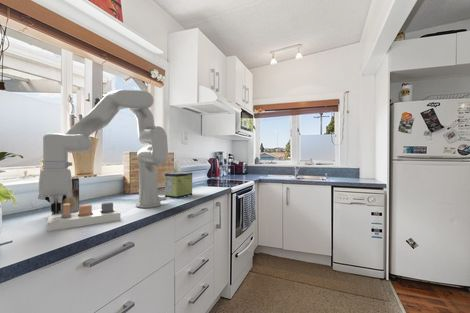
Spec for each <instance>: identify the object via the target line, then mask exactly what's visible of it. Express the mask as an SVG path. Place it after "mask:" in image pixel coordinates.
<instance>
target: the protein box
mask: <svg viewBox="0 0 470 313" xmlns="http://www.w3.org/2000/svg"><path fill="white" fill-rule="evenodd" d="M188 195H191V196H193V172H188V171H187V172H185V171H178V172H167V173H165V174H164V197H166V198H167V197H170V198H169V199H175V198H177V199H180V198H179V197H182V198H185V197H184V196H186V197H189V196H188Z"/></svg>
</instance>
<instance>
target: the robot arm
mask: <svg viewBox="0 0 470 313" xmlns="http://www.w3.org/2000/svg"><path fill="white" fill-rule="evenodd" d="M154 100H155V99H154V97H153V95H152V93H151V92H149V91H147V90H142V89H139V90H137V89H118V90H114V91H109V92H108V93H106V94H105V95H104V96H103V97H102V98H101V99H100V101H98V103H97V104H96V105H95V106H94V107H92V109H91V110H90V111H89V112H88V113H87V114H85V116H83V117H82V118H81V119H80V120H78V121H77V122H76V123H75V124H73V125H72V127H70V128H69V130H68V131H67V132H66V133H53V132H52V133H45V134H44V135H43V137H42V152H43V154H42V158H43V159H42V164H43V169H40V172H39V178H38V195H37V199H38V200H42V201H47V202H48V203H49V204H50V212H51V213H52V212H53V214H56V213H57V214H59V211H61V202H62V201H63V200H64V199H65V198H68V197H71V196H73V194H72V178H73V177H72V172H71V168H69V167H72V166H73V162H69V153H70V154H71V153H73V154H74V153H75V154H81V153H86V152H88V151H90V149H92V147H93V141H92V139H91V138H90V136H91V135H92V134H93V133H95V132H97V131H101V130H102V129H103V128H104V129H105V128H106V127H107V126H109V124H110V123H111V122H112V120H113V119H114V117H115V116H116V115H117V114H118V113H119V112H120V111H121V110H123V109H129V110H130V111H131V112H132V113H133V114H134V116H135V118H136V122H137V123H136V124H137V135H138V136H137V137H138V141H139V142H140V143H141V144H142V145H146V146H145V147H142V148H141V149H139V150H138V152H137V154H136V160H137V164H138V202H136V203H135V207H136V208H138V209H139V208H141V209H149V208H151V209H152V208H156V207H160V206H161V202H162V201H163V202H164V201H167V199H168V198H167V197H165V196H163V197H162V196H158V195H159V193H158V190H159V189H158V188H159V186H158V185H159V184H158V182H159V179H158V177H159V175H158V174H159V173H158V169H157V166H162V165H165V164H166V163H167V161H168V158H169V147H168V137H167V133H166V130H165V129H164V128H163V127H161V126H159V125H155V119H154V118H155V117H154V114H153V113H152V111H151V109H149V108H151V107H152V106H153V105H154V103H155V102H154ZM147 145H149V146H147ZM150 145H151V146H150ZM65 194H66V195H65ZM54 195H59V197H58V201H57V203H55V201H54V197H53V196H54Z"/></svg>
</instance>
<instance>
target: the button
mask: <svg viewBox="0 0 470 313" xmlns="http://www.w3.org/2000/svg"><path fill="white" fill-rule="evenodd" d="M113 208H114V202H103V203H101V209H102V213H110V212H113Z"/></svg>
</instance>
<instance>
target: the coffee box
mask: <svg viewBox="0 0 470 313" xmlns="http://www.w3.org/2000/svg"><path fill="white" fill-rule="evenodd" d="M72 194H73V196H71V197H68V198H65V199H64V200H63V201H62V202H61V211H59V214H57V213H56V214H53V212H51V216H52V215H60V214H63V204H67V203H69V204H70V213H76V212H79V206H80V178H78V177H77V178H76V177H75V178H74V177H72ZM65 195H66V194H65ZM53 197H54V201H55V203H57V201H58V197H59V195H54V196H53Z"/></svg>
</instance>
